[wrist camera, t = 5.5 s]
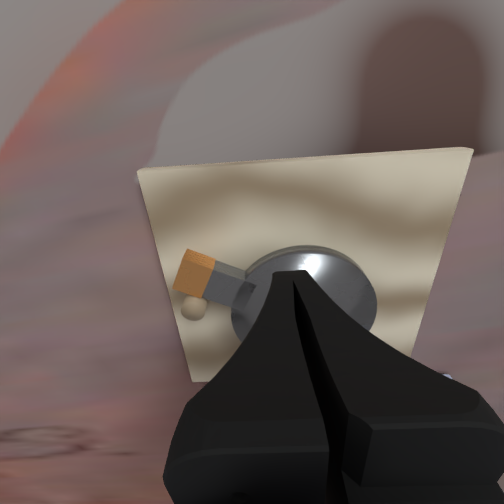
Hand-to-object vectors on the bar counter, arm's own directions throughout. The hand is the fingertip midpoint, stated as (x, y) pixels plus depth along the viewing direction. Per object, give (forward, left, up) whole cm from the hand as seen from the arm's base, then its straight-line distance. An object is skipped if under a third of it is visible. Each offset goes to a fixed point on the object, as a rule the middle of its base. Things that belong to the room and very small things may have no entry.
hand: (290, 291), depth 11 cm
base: (-6, -1, -9) cm, 11 cm away
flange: (-6, 0, -7) cm, 9 cm away
